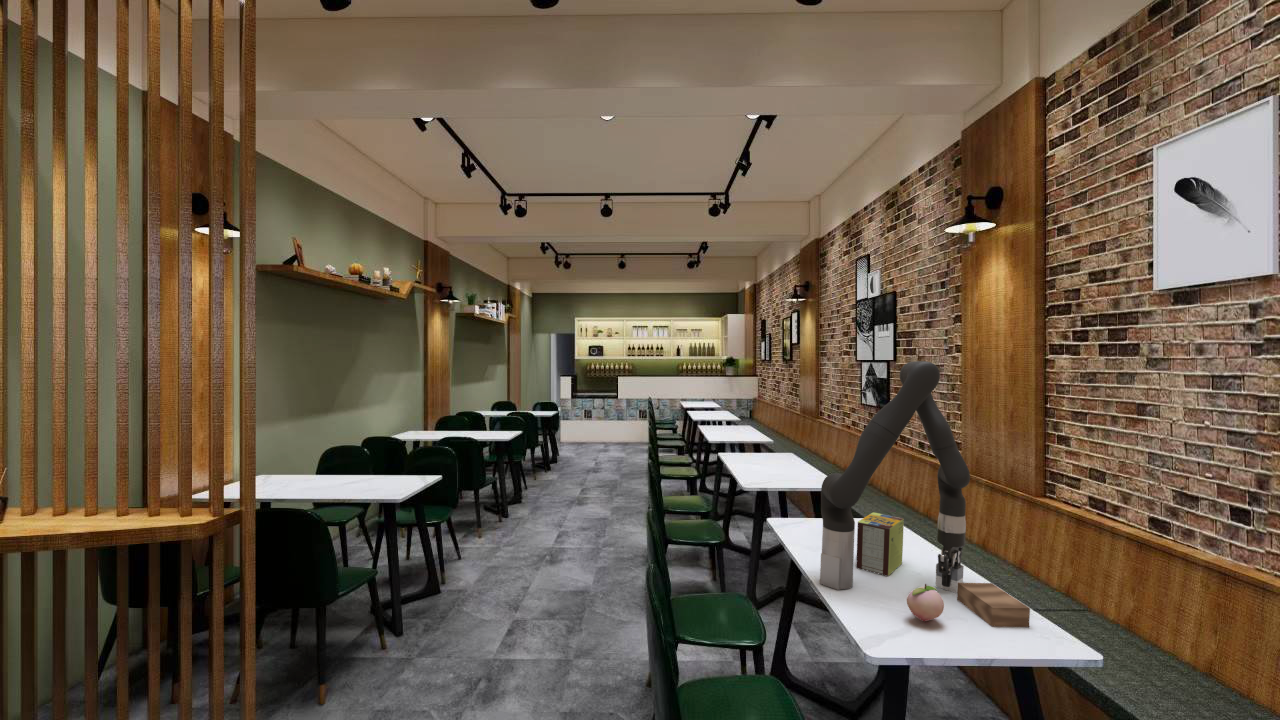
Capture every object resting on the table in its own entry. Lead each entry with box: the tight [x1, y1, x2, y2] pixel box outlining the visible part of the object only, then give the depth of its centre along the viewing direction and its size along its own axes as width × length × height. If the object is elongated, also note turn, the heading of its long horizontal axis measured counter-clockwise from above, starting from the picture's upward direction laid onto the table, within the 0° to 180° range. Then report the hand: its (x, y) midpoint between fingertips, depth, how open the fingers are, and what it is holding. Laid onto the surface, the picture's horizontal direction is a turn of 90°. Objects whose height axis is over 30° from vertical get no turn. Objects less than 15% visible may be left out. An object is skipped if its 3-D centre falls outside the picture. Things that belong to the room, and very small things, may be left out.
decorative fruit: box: [906, 583, 945, 622], centre depth 155 cm, size 9×8×10 cm
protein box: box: [855, 512, 905, 577], centre depth 194 cm, size 10×15×16 cm
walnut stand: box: [956, 582, 1031, 628], centre depth 162 cm, size 16×10×5 cm, turn 1°
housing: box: [935, 562, 965, 594], centre depth 178 cm, size 5×6×7 cm
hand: (949, 583), depth 178 cm, fingers closed on housing, 5 cm apart
